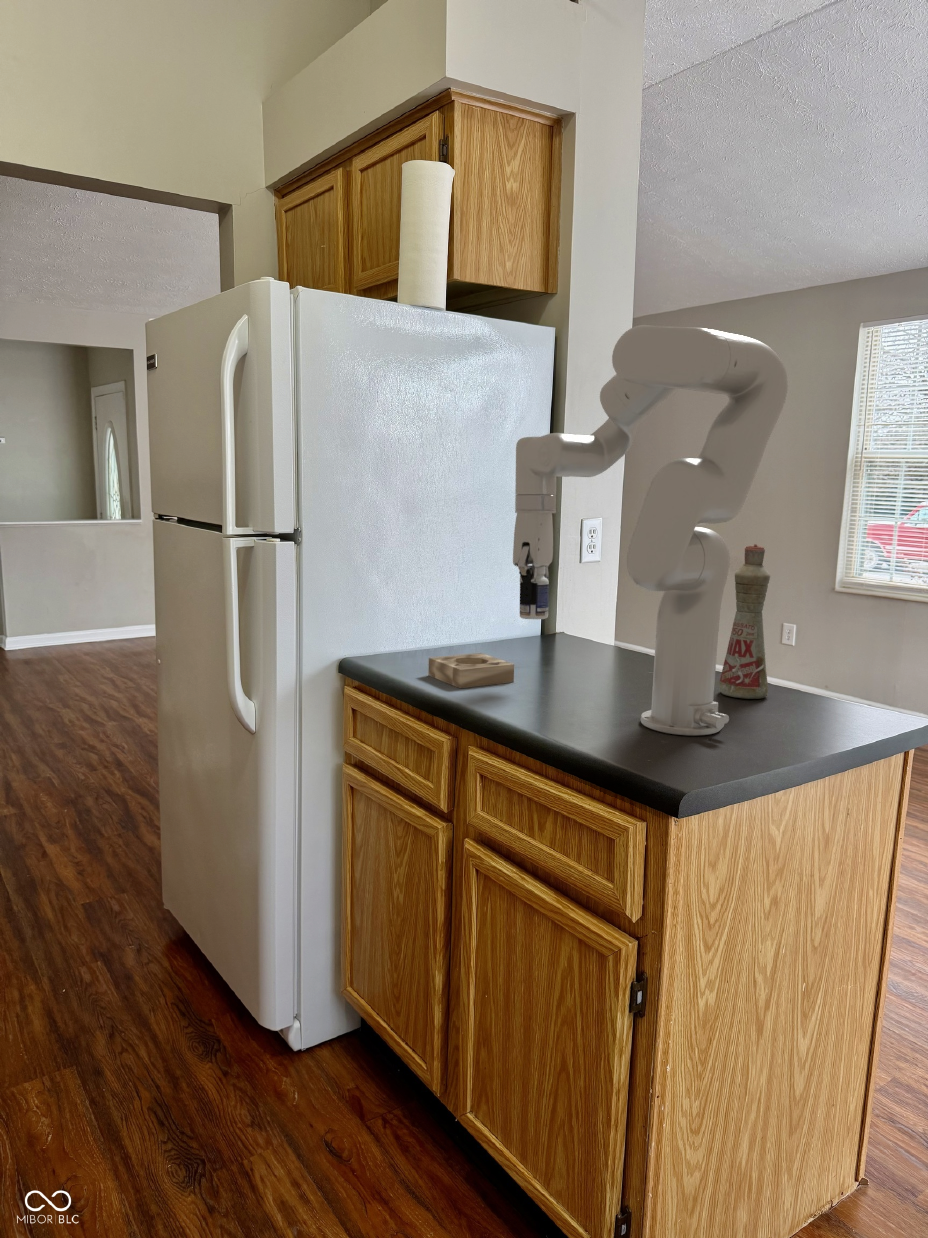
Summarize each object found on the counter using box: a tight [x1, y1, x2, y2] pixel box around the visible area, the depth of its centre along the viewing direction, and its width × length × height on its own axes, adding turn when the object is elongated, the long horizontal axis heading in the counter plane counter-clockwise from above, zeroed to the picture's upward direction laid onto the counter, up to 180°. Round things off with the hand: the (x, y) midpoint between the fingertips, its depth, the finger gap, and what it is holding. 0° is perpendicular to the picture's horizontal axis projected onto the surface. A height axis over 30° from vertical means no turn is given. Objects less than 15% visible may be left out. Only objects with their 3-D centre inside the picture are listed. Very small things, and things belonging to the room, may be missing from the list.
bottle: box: [718, 543, 771, 700], centre depth 161 cm, size 9×9×28 cm
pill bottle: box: [519, 566, 550, 620], centre depth 165 cm, size 5×5×10 cm
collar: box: [427, 652, 515, 689], centre depth 170 cm, size 12×12×4 cm
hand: (534, 601), depth 165 cm, fingers closed on pill bottle, 5 cm apart
